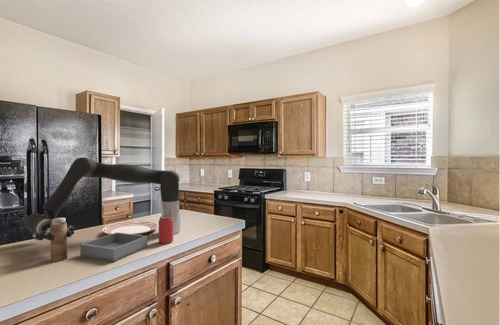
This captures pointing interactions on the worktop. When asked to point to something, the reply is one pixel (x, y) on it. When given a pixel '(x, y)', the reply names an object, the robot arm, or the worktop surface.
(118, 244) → the bin
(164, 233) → the beer can
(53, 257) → the pepper mill
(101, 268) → the worktop surface
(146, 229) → the dinner plate
